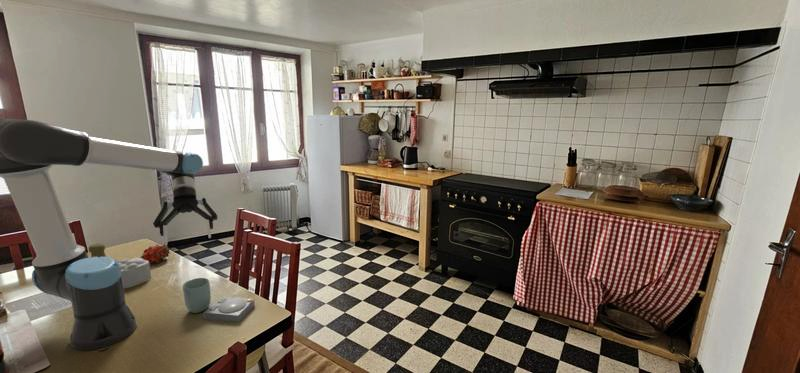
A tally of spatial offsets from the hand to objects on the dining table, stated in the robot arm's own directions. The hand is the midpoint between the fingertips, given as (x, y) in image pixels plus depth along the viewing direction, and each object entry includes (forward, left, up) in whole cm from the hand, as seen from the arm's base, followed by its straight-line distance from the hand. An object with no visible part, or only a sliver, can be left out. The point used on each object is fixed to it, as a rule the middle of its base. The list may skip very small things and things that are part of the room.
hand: (188, 239), depth 122 cm
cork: (+13, +53, -22) cm, 59 cm away
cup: (-10, -9, -22) cm, 25 cm away
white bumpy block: (+5, +31, -22) cm, 38 cm away
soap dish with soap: (-10, -20, -21) cm, 31 cm away
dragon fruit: (+22, +35, -22) cm, 47 cm away
